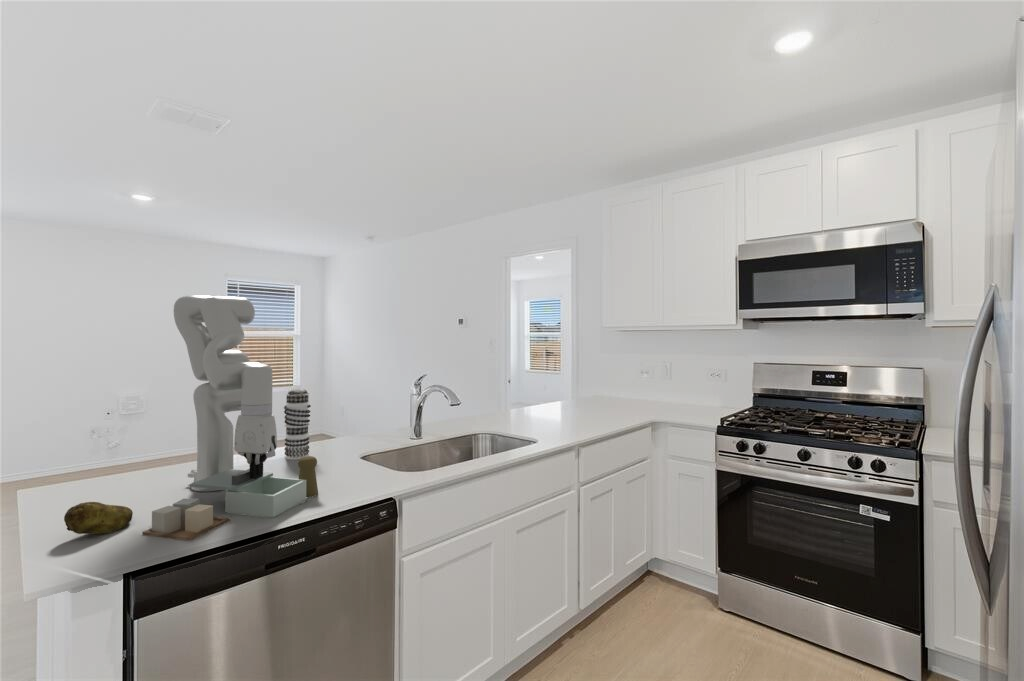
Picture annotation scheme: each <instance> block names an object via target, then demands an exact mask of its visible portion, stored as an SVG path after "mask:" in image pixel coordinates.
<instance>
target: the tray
mask: <svg viewBox="0 0 1024 681" xmlns="http://www.w3.org/2000/svg"><path fill="white" fill-rule="evenodd" d="M230 521H231V518H230V517H223V516H215V515H213V525H212V526H210V527H207V528H205V529H203V530H201V531H199V532H189V531H185V525H181V529H178V530H176V531H173V532H171V533H161V532H153V531H152V527H151V528H148V529H146V530H143V531H142V533H141V534H142V536H147V537H148V536H149V537H150V536H151V537H158V538H165V539H166V538H167V539H173V540H183V541H189V542H190V541H193V540H194V539H196V538H199V537H201V536H202V535H205V534H206V533H208V532H211V531H212V530H214V529H216V528H218V527H220V526H223V525H224V524H226V523H228V522H230Z"/></svg>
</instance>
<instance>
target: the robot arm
mask: <svg viewBox="0 0 1024 681" xmlns="http://www.w3.org/2000/svg"><path fill="white" fill-rule="evenodd" d="M255 315H256V311H255V307H254V304H253V303H252V301H251V300H249V299H248V298H246V297H243V296H241V297H239V296H224V295H223V296H221V295H215V296H214V295H213V296H212V295H199V294H198V295H196V294H194V295H185V296H181V297H179V298H177V299H176V300H175V303H174V304H173V318H174V319H173V320H174V322H175V325H176V328H177V330H178V332H179V333H180V335H181V337H182V339H183V340H184V342H185V345H186V350H187V354H188V358H189V362H190V366H191V369H192V373H193V376H194V378H195V379H197V380H198V381H201V382H205V383H202V384H200V385H198V386H197V387H195V389H194V391H193V394H192V395H193V396H192V397H193V404H194V408H195V409H194V410H195V416H196V455H197V456H196V468H195V469H194V468H193V469H191V470H190V472H189V473H187V478H193V482H192V483H194V482H197V481H199V480H202V479H205V478H208V477H210V476H213V475H216V474H218V473H221V472H224V471H227V470H229V469H234V451H235V452H237V455H239V456H241V457H244V458H245V459H246V463H247V464H248V465H249V469H250V471H249V473H250V479H257V478H259V477H262V476H263V472H264V463H265V462H266V461H267V459H269V458H272V457H275V456H276V450H277V446H278V443H277V442H278V436H277V435H278V434H277V424H276V419H275V415H274V414H273V367H272V366H271V365H268V364H266V363H265V364H263V363H261V362H258V361H250V358H249V356H248V355H247V353H245V352H243V351H242V350H237V349H234V348H235V347H238V346H239V345H241V343H242V342H243V341H244V338H245V332H244V329H243V327H242V325H249V324H251V323H252V322H253V321H254V319H255ZM203 323H204V325H203ZM237 411H240V414H239V415H238V417H237V418H236V419H237V420H236V424H235V429H234V425H233V423H232V421H231V420H230V419H229V418H228V417H227V416H226V414H227V413H230V412H237ZM225 413H226V414H225ZM234 430H235V431H234ZM190 489H191V490H192V491H195V492H201V493H202V492H204V493H205V492H217V491H220V490H219V489H209V488H198V487H191V486H190Z"/></svg>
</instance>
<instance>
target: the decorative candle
mask: <svg viewBox="0 0 1024 681" xmlns="http://www.w3.org/2000/svg"><path fill="white" fill-rule="evenodd" d="M285 395H286V398H285V399H286V402H285V405H284V407H283V409H284V410H283V413H284V414H285V415H284V421H283V422H284V424H285V425H284V427H285V432H286V433H285V438H284V441H285V442H284V446H285V447H284V451H285V452H284V455H285V456H284V459H286V460H299V459H300V458H302V457H305V456H310V446H309V444H310V441H309V440H310V435H309V434H310V433H309V426H310V421H311V420H310V419H309V417H311V414H309V413H311V410H310V409H309V408H311V406H312V405H311V404H310V401H309V395H310V393H309V392H308V391H307V390H306V389H303V388H299V389H298V388H296V389H290V390H289V391H288V392H287V393H286V394H285Z"/></svg>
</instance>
